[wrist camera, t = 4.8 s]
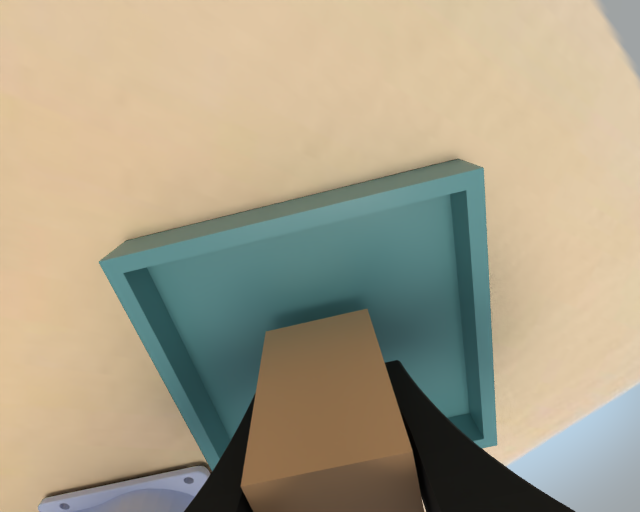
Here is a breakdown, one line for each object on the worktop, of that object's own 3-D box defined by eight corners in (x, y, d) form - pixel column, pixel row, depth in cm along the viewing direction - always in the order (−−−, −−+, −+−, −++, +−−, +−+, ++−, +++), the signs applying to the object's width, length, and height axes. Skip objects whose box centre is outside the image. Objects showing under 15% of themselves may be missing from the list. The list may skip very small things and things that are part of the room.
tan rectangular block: (292, 406, 15) (287, 579, 10) (265, 331, 14) (240, 486, 8) (384, 386, 15) (431, 551, 9) (367, 308, 13) (412, 451, 8)
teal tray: (234, 462, 19) (227, 500, 17) (125, 240, 14) (98, 261, 12) (477, 411, 18) (497, 445, 17) (458, 158, 13) (483, 167, 11)
